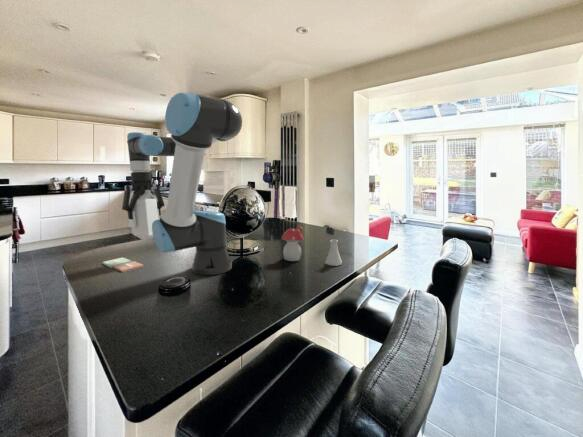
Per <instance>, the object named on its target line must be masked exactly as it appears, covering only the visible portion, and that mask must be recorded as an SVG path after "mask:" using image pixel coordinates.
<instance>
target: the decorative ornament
mask: <svg viewBox="0 0 583 437" xmlns="http://www.w3.org/2000/svg"><path fill="white" fill-rule="evenodd" d="M301 231H303V227H302V226H301V225H298V226H297V227H296V228H293V227H290V228H288V229H286V230H285V232H284V233H283V234H282V235H281V240H282V241H286V243H285V245H284V247H283V250H282V254H283V259H284V261H287V262H298V261H300V259H301V257H302V248H301V246H300V244H299V242H300V243H301V242H303V241H304V236H303V234H302V233H301Z"/></svg>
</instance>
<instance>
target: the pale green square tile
mask: <svg viewBox="0 0 583 437" xmlns="http://www.w3.org/2000/svg"><path fill="white" fill-rule="evenodd" d="M128 262H132V260H131V259H128V258H125V257H123V256H122V257H118V258H114V259H110V260H106V261H102V265H104V266H107V267H109V268H114V266H116V265H120V264H124V263H128Z"/></svg>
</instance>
